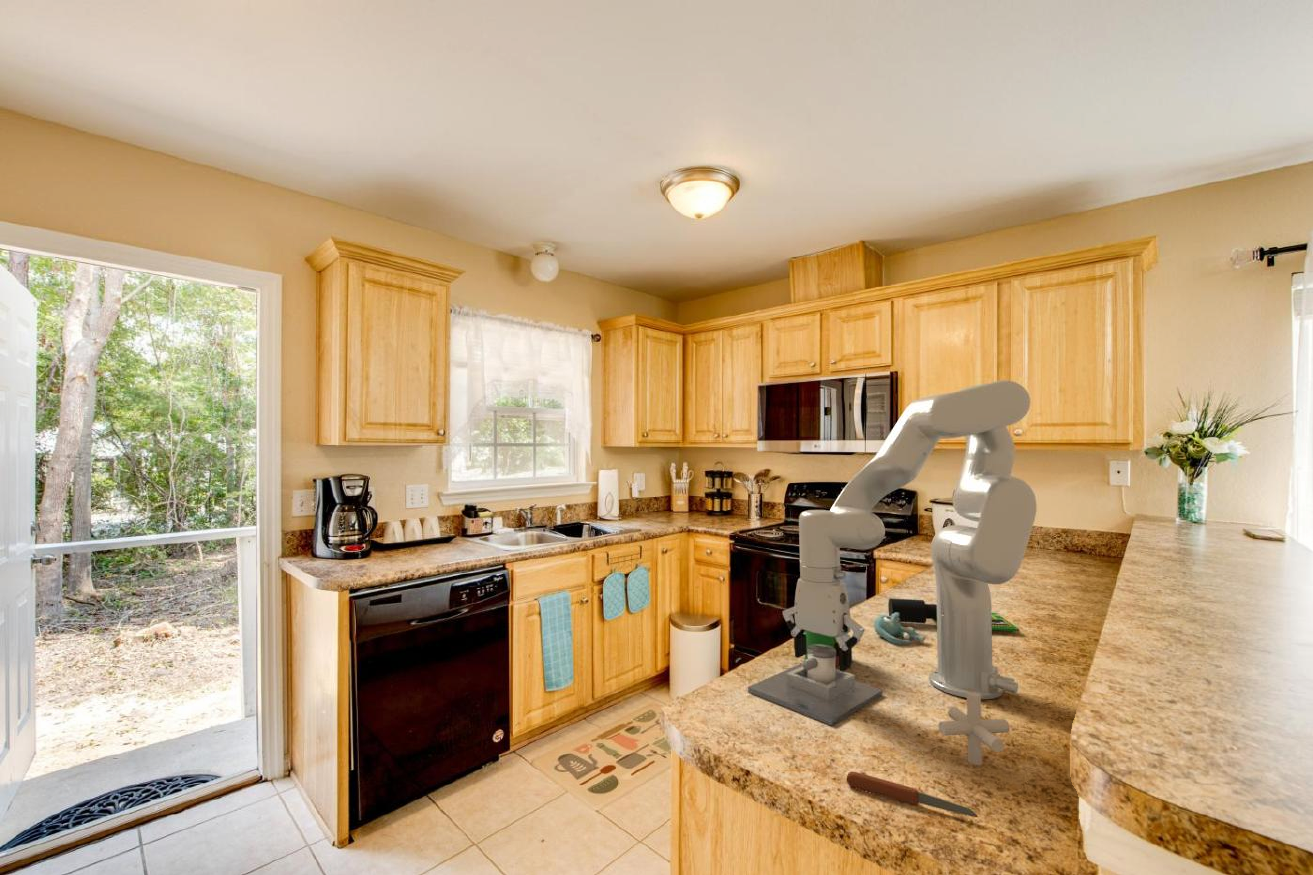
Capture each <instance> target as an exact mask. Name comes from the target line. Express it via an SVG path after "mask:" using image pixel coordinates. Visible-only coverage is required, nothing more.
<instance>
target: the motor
mask: <svg viewBox="0 0 1313 875" xmlns="http://www.w3.org/2000/svg"><path fill="white" fill-rule="evenodd" d="M804 634H806V645H807V646H809V645H812V644H822V645H827V646H831V647H833V648H834V649H836V656H835V668H839V650H840V649H841V646H840V645H839V643H838V642H837V640H836V639H835V638H833V637H828V636H824V635H820V634H817V633H813V632H809V631H804ZM807 659H808V653H807V654H806V655H804V661H805V660H807Z"/></svg>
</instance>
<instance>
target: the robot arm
mask: <svg viewBox="0 0 1313 875" xmlns="http://www.w3.org/2000/svg"><path fill="white" fill-rule="evenodd" d="M1030 407H1031V397H1030V395H1029V393H1028V390H1027V389H1026V388H1025V387H1024V385H1021V384H1020V383H1018V382H1016V381H1012V380H997V381H994V382H993V381H992V382H988V383H983V384H978V385H977V384H976V385H971V386H968V387H964V388H962V389H960V390H958V391H954V392H948V393H941V394H937V395H936V394H935V395H931V396H925V397H922V398H918V399H916V400H914V401H912V402H911V403H909V405H907V407H906V408H905V409H904V411H903V412H902V413H901V415H900V416H899V418H898V420H897V422H896V423H895V425H894V426H893V428H892V429H891V430H890V431H889V434H888V435H887V437H886V439H885V440H884V441H883V443H882V445H881V447H880V448H879V450H878V451H877V452H876V454H875V455H874V456H873V457H872V459H870V461H868V462H867V464H865V465H864V466H863V468H862V469H860V470H859V471H858V472H857V473H856V474H855V475H854V476H853V477H852V478H851V480H849V481H848V482H847V484H846V485H845V487H843V489H842V491H840V494H839V495H838V497H837V498H836V499H835V500H834V503H833V504H832V506H831V508H830V510H826V509H808V510H804V511H802V512H800V514H799V516H798V535H799V537H798V538H799V539H798V540H799V572H800V574H799V575H800V577H799V578H798V579H797V582H796V589H795V595H794V596H795V597H794V606H792V607H789V608H786V609H784V610H782V615H783V616H782V617H783V618H784V620H785V625H786V626H787V629H789V630H790V635H791V637H793V651H794V657H795V658H797V659H799V658H801V657H803V656H804V657H805V655H806V654H807V645H806V634H805V631H809V632H813V633H817V634H820V635H824V636H828V637H833V638H835V639H836V640H837V642H838V643H839V645H840V648H841V649H840V650H839V667H838V670H840V671H842V672H847V670H849V669H851V667H852V665H853V648H854V647H855V646H856V645H857V644H858V643H859V642H860V641H861V638H862V637H863V635H864V633H865V631H866V629H865V628H864V627H863V626H862V625H861V624H859V623H858V622H857V621H856V620H854V619H853V618H851V610H850V601H849V596H848V592H847V587H846V583H845V582H843V581H841V580H845V579H846V577H847V573H846V571H842V567H841V558H840V557H841V556H840V555H841V553H840V550H841V549H840V548H847V549H854V550H870V549H872V548H875V547H877V546H878V545H880V543H882V541H883V540H884V537H885V534H886V529H885V525H884V522H883V521H882V519H881V518H880V517H879V516H878V515H876V514H875V513H873V512H872V509H873V508H874V507H875V506H876V505H877V504H878V503H879V502H880V501H881V500H882V499H883V498H885V497H886V496H887V495H888V494H890V493H892V492H894V491H896V490H898V489H900V488H902V487H905V486H906V485H908V484H910V483H912V482H913V481H914V480H915V479H916V478H917V477H918V475H919V474H920V471H921V470H922V468H923V467H924V465H925V464H926V462H927V460H928V459H929V457H930V455H931V454H932V453H933V451H934V449H935V448H936V446H937V445H938V443H939V442H940V441H941V440H946V439H957V438H962V437H963V438H965V442H966V444H965V445H966V446H965V447H966V448H965V454H964V459H963V463H962V466H961V469H960V471H959V476H958V479H957V480H956V481H957V482H956V485H955V488H954V491H953V496H952V506H953V508H954V510H955V512H956V513H957V515H959V516H961V517H962V518H964V519H967V520H969V521H973V522H977V523H978V524H977V527H973V526H969V525H960V524H954V525H953V524H952V525H949V526H948V525H947V526H945V527H942V528H941V529H939V530H938V531H937V532H935V535H934V536H933V538H932V540H931V544H930V553H931V554H930V555H931V561H932V566H933V570H934V576H935V589H936V605H937V623H936V625H937V626H936V633H937V634H936V635H937V636H936V639H937V640H936V642H937V644H936V645H937V648H936V649H937V669H935V670H932V671H931V672H930V673H929V677H928V679H929V680H928V681H929V682H930V684H931V685H932V686H933V687H935V688H936V689H938V690H940V691H941V692H945V693H947V694H950V695H953V696H957V697H961V698H964V699H965V698H966V699H967V692H968V691H972V692H977V693H979V694H980V695H981V700H992V699H993V700H994V699H997V698H999V697H1001V696H1002V694H1003V691H1006V692H1009V693H1012V694H1017V693H1018V690H1019V684H1018V682H1016V681H1015V678H1011V677H1009V676H1003V675H1001V674H1000V673H999V670H998V668H999V667H998V666H997V665H993V637H992V636H993V630H992V620H991V613H992V596H991V591H990V586H989V585H1000V584H1001V585H1002V584H1005V583H1008V582H1009V581H1010V580H1013V578H1014V577H1015V575H1016V574H1018V572H1019V569H1020V568H1021V565H1022V563H1023V560H1024V557H1025V553H1026V550H1027V547H1028V543H1029V540H1030V536H1031V533H1032V531H1033V526H1034V523H1035V519H1036V514H1037V510H1038V509H1037V507H1038V505H1037V498H1036V495H1035V493H1034V491H1033V489H1032V488H1031V486H1030V485H1029V483H1027V482H1026V481H1025V480H1023V479H1021V478H1019V477H1016V476H1012V471H1013V467H1014V462H1015V458H1016V457H1015V456H1016V447H1015V443H1014V440H1013V437H1012V435H1011V433H1010V430H1009V429H1008V428H1007V427H1008V426H1012V425H1016V424H1017V423H1019V422H1020V421H1021V420H1023V419H1024V418H1025V417H1026V416H1027V415H1028V412H1029V410H1030ZM793 616H794V617H793ZM851 631H852V632H853V633H852V635H851V636H850V635H849V633H850V632H851Z"/></svg>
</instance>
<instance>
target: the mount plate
mask: <svg viewBox="0 0 1313 875" xmlns="http://www.w3.org/2000/svg"><path fill="white" fill-rule="evenodd" d="M747 692H748V693H749V694H752V695H754V696H757V697H760V698H761V699H764V700H767V701H769V702H772V703H774V704H776V705H778V706H781V707H784V708H786V709H789V710H791V711H794V712H796V713H799V714H801V715H804V716H807V717H809V718H812V719H813V720H816V721H819V722H820V723H824V724H825V725H829V726H832V727H834V725H837V724H838V723H840V722H841V721H843V720H845V719H846V718H848V717H849V716H851V715H853V714H854V713H856V712H857V711H859V710H861V709H862V708H864V707H866V706H867V705H870V704H871V703H873V702H874V701H875V700H878V699H879V698H881V697H882V696H883V689H881V688H879V687H874V686H872V685H868V684H865V683H861V682H858V681H856V680H855V674H853V673H851V672H847V671H844V672H842V671H840V670H839V668H838V669H837V668H835V681H834V682H832V683H830V684H828V685H826V684H823V683H820V682H817V681H814V680H811V679H808V678H807V670H805V669H804V668H803V666H802V663H799V664H797V665H795V666H794V665H793V666H792V667H790V668H788V669H786V670H783V671H781V672H779V673H777V674H774V675H772V676H770V677H767V678H766V679H762V680H760V681H758V682H756V683H753V684H752V685H749V686H747Z"/></svg>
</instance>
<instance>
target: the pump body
mask: <svg viewBox="0 0 1313 875" xmlns="http://www.w3.org/2000/svg"><path fill="white" fill-rule="evenodd" d="M807 653H808V659H807V660H805V659H804V660H803V661H802V663H801V664H802V666H803V668H804V669H805V670H807V678H808V679H811V680H814V681H817V682H820V683H823V684H826V685H828V684H830V683H832V682H834V681H835V669H836V667H835V656H836V649H834V648H833V647H831V646H827V645H822V644H812V645H809V646H807Z"/></svg>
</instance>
